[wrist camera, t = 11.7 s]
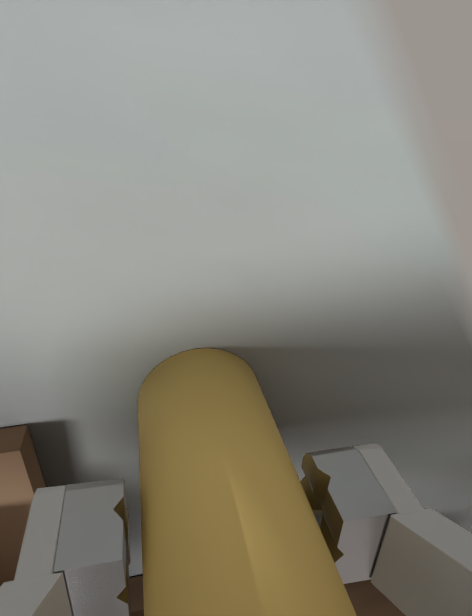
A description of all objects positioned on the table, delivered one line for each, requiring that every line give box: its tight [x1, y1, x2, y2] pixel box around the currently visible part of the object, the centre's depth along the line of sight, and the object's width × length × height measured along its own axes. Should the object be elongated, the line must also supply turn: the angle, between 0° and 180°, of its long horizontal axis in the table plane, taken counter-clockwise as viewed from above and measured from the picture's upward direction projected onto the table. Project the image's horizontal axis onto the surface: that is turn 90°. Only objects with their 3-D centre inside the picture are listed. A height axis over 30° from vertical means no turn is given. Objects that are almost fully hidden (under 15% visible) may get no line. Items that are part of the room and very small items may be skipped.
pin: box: [138, 348, 357, 616], centre depth 8 cm, size 3×3×7 cm
